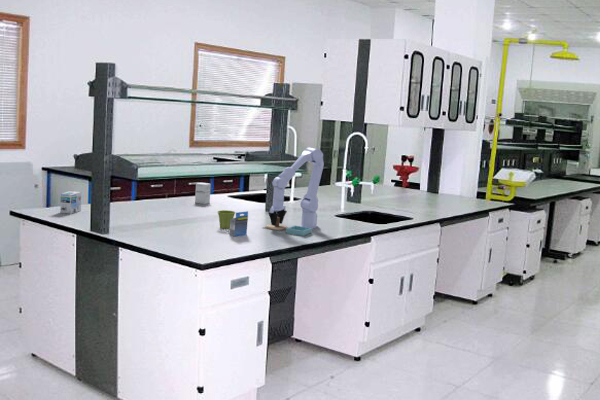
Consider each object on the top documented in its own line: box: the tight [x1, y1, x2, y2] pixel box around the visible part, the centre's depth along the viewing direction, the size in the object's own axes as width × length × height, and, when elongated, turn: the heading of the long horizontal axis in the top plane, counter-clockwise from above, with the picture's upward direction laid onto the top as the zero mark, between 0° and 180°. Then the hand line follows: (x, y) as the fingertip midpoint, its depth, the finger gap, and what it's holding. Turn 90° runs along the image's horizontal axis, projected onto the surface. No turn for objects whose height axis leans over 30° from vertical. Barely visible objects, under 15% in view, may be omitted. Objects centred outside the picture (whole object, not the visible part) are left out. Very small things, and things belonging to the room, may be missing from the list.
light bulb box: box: [59, 190, 82, 215], centre depth 358 cm, size 11×7×11 cm, turn 168°
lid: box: [265, 217, 287, 231], centre depth 351 cm, size 11×11×6 cm
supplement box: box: [194, 182, 212, 205], centre depth 415 cm, size 7×7×13 cm
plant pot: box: [217, 209, 236, 230], centre depth 344 cm, size 9×9×9 cm
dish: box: [285, 225, 313, 237], centre depth 343 cm, size 10×10×3 cm
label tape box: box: [229, 210, 249, 237], centre depth 329 cm, size 9×4×12 cm, turn 141°
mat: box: [262, 226, 289, 232], centre depth 352 cm, size 12×12×1 cm
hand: (276, 224), depth 351 cm, fingers open, 7 cm apart
